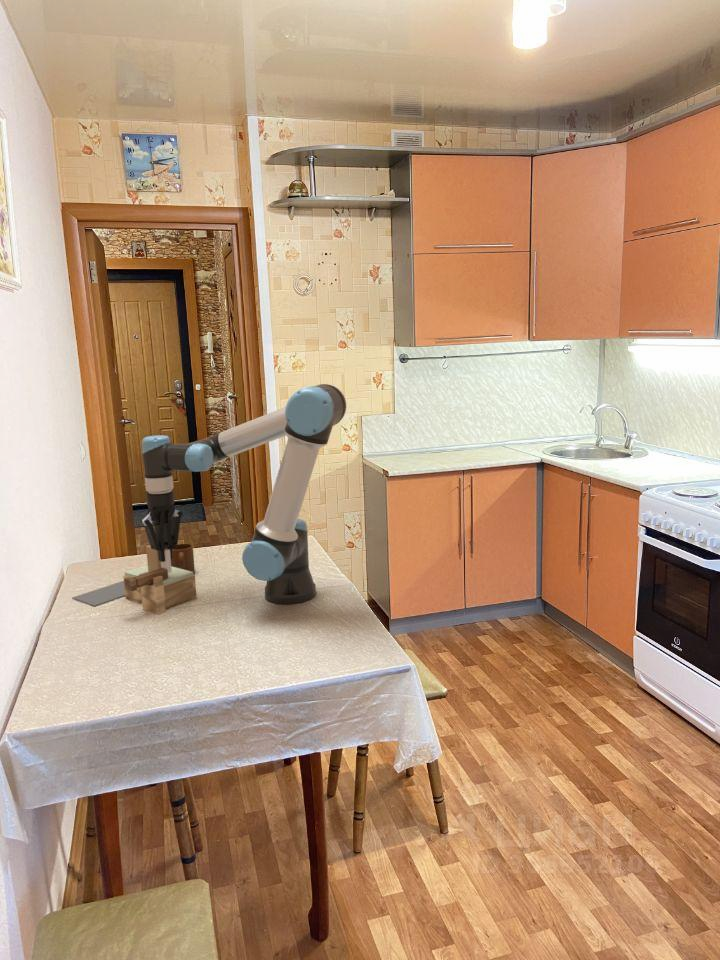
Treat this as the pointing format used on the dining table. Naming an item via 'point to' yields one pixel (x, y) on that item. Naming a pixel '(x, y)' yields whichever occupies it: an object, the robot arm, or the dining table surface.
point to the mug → (183, 557)
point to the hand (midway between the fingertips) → (166, 571)
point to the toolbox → (163, 594)
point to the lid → (155, 564)
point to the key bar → (144, 579)
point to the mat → (102, 594)
